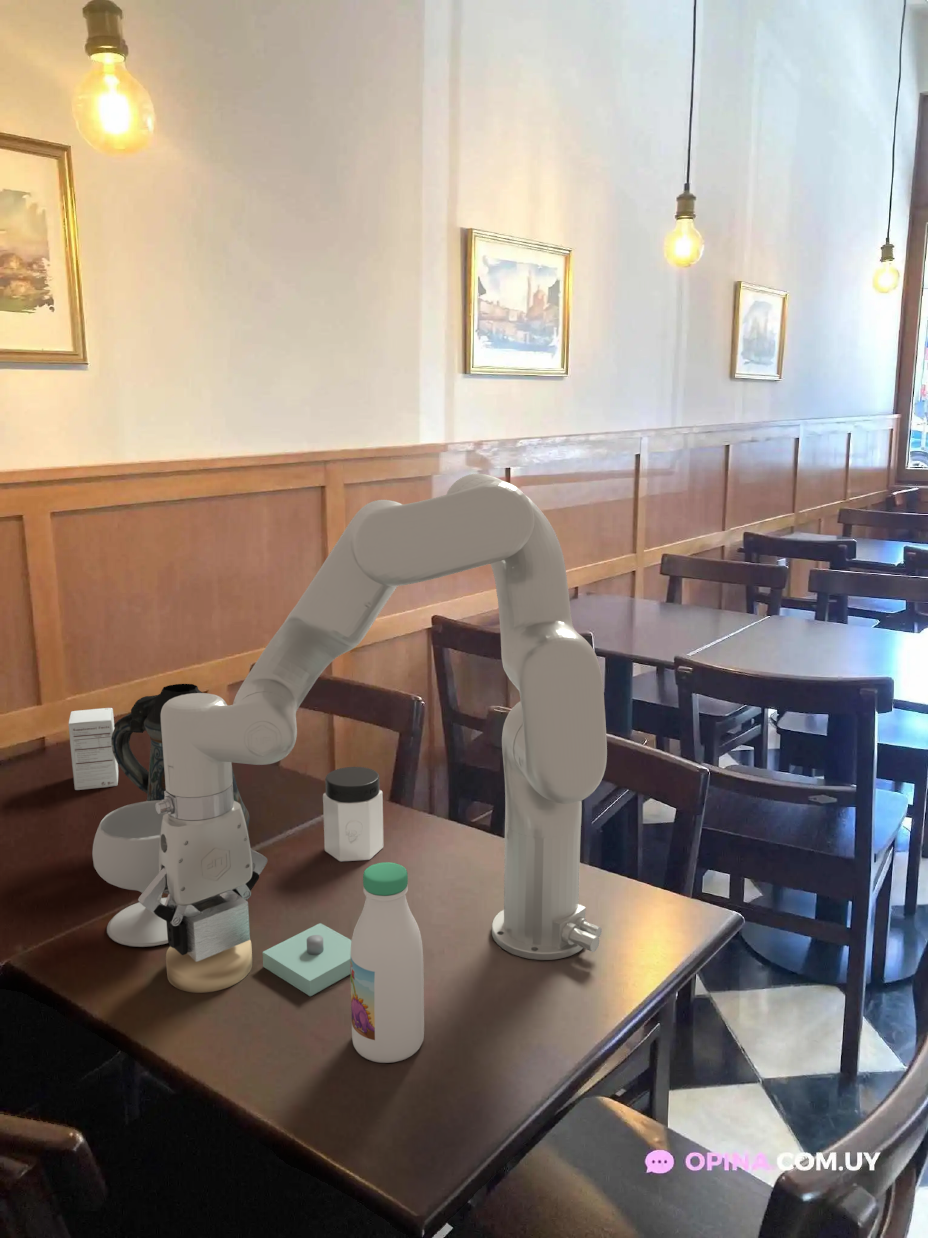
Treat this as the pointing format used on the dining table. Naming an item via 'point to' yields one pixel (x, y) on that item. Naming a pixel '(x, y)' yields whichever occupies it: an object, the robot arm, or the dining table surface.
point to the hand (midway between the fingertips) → (209, 936)
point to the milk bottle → (386, 970)
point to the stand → (310, 959)
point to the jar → (353, 814)
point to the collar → (216, 924)
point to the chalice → (131, 869)
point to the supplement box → (92, 748)
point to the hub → (209, 969)
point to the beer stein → (152, 743)
